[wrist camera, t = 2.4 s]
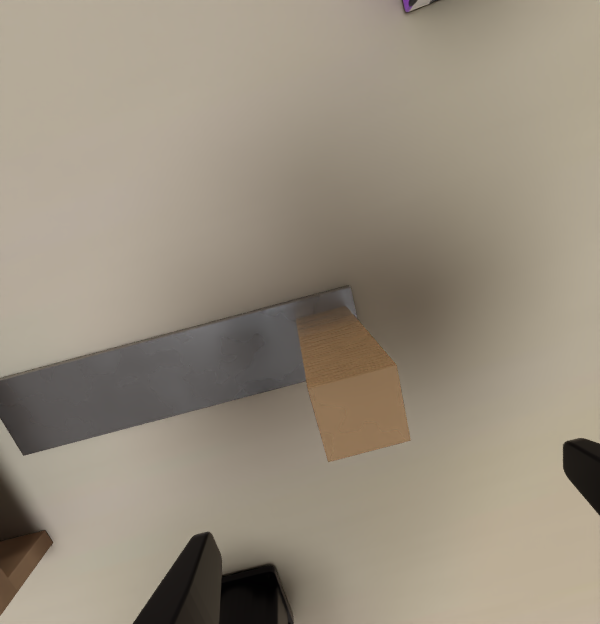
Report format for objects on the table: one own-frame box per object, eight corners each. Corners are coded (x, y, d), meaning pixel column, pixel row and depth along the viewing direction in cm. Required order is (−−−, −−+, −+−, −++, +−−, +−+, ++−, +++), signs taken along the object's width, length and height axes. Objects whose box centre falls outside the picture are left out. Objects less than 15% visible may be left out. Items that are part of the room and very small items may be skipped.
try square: (347, 284, 18) (406, 333, 10) (363, 359, 19) (428, 459, 11) (-7, 379, 18) (-255, 508, 10) (33, 446, 20) (-154, 611, 11)
